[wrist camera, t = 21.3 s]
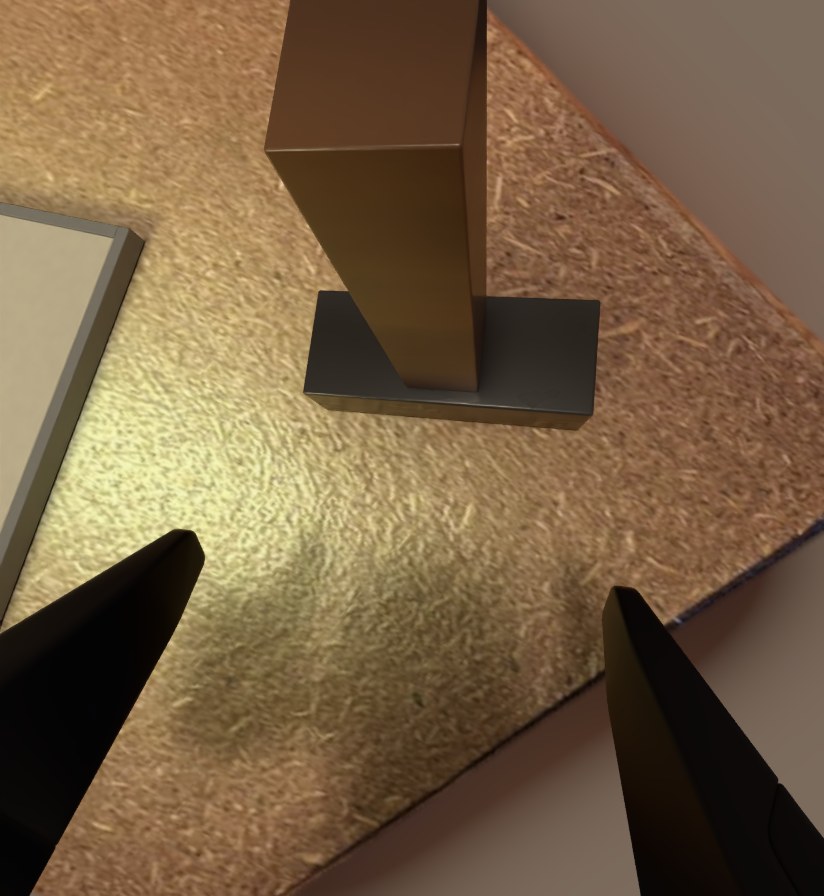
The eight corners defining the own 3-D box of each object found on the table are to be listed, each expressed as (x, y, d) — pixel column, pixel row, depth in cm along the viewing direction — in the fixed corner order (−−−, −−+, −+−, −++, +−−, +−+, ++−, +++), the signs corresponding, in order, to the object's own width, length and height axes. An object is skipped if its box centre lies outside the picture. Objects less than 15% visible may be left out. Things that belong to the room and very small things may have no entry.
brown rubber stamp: (578, 430, 17) (833, 184, 5) (325, 409, 19) (2, 188, 6) (585, 329, 18) (830, -142, 5) (338, 318, 20) (65, -57, 7)
